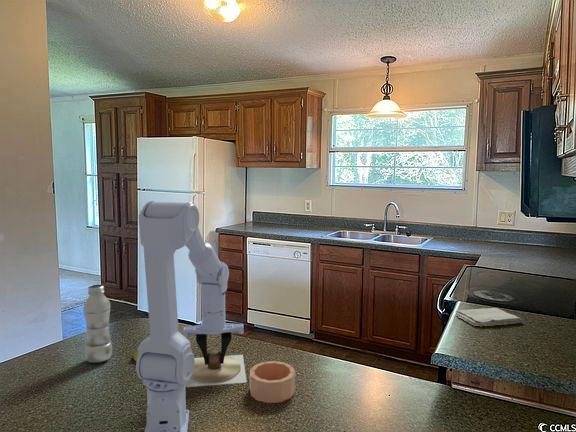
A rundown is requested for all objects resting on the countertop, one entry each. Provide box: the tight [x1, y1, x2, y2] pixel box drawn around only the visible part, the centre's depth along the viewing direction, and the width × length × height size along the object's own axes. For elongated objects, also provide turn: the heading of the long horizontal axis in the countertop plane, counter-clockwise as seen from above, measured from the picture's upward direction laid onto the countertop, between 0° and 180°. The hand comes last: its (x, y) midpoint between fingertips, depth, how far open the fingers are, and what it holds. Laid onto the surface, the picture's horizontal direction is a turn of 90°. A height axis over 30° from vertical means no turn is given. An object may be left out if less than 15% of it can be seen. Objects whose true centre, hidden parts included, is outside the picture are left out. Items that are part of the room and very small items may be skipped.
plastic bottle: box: [83, 283, 113, 364], centre depth 110 cm, size 6×7×20 cm
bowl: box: [249, 360, 296, 404], centre depth 95 cm, size 10×10×5 cm
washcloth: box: [455, 307, 523, 323], centre depth 143 cm, size 12×18×3 cm, turn 104°
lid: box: [191, 350, 241, 383], centre depth 105 cm, size 13×13×4 cm
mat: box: [185, 354, 247, 388], centre depth 105 cm, size 15×15×1 cm
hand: (214, 362), depth 105 cm, fingers closed on lid, 3 cm apart
